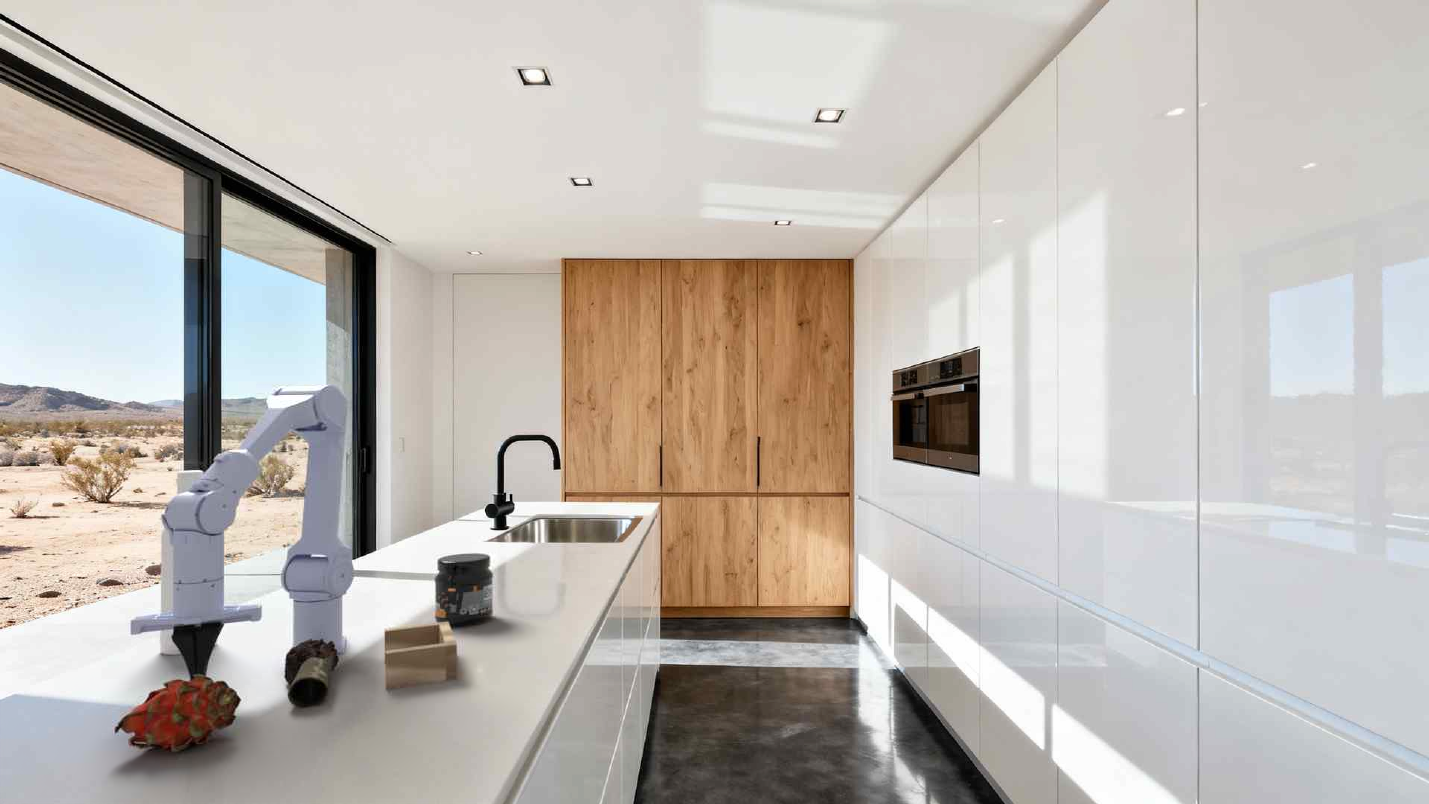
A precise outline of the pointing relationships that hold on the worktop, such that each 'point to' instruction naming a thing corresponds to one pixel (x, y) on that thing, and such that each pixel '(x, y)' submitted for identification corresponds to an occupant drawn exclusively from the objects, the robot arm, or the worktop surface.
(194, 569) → the robot arm
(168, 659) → the worktop surface
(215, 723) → the dragon fruit
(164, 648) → the bottle
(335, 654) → the metal pipe
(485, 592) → the supplement container
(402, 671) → the light wooden open box
